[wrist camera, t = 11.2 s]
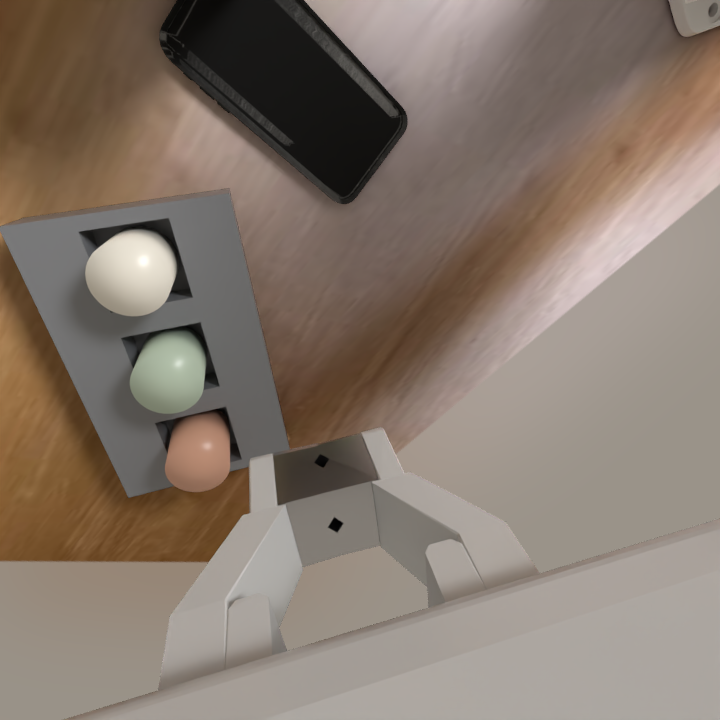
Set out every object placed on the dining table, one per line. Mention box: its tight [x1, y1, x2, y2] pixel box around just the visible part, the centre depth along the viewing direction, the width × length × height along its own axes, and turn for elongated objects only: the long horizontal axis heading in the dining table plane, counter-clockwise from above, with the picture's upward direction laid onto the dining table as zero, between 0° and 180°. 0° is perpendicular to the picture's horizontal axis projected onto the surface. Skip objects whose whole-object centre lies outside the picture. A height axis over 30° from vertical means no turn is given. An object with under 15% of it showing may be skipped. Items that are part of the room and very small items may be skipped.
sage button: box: [130, 326, 207, 414], centre depth 31 cm, size 4×4×5 cm
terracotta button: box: [165, 409, 230, 492], centre depth 34 cm, size 4×4×5 cm
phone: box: [159, 0, 407, 204], centre depth 29 cm, size 8×1×15 cm
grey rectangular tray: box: [0, 188, 290, 498], centre depth 33 cm, size 13×21×4 cm, turn 7°
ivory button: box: [85, 226, 179, 316], centre depth 27 cm, size 4×4×5 cm
